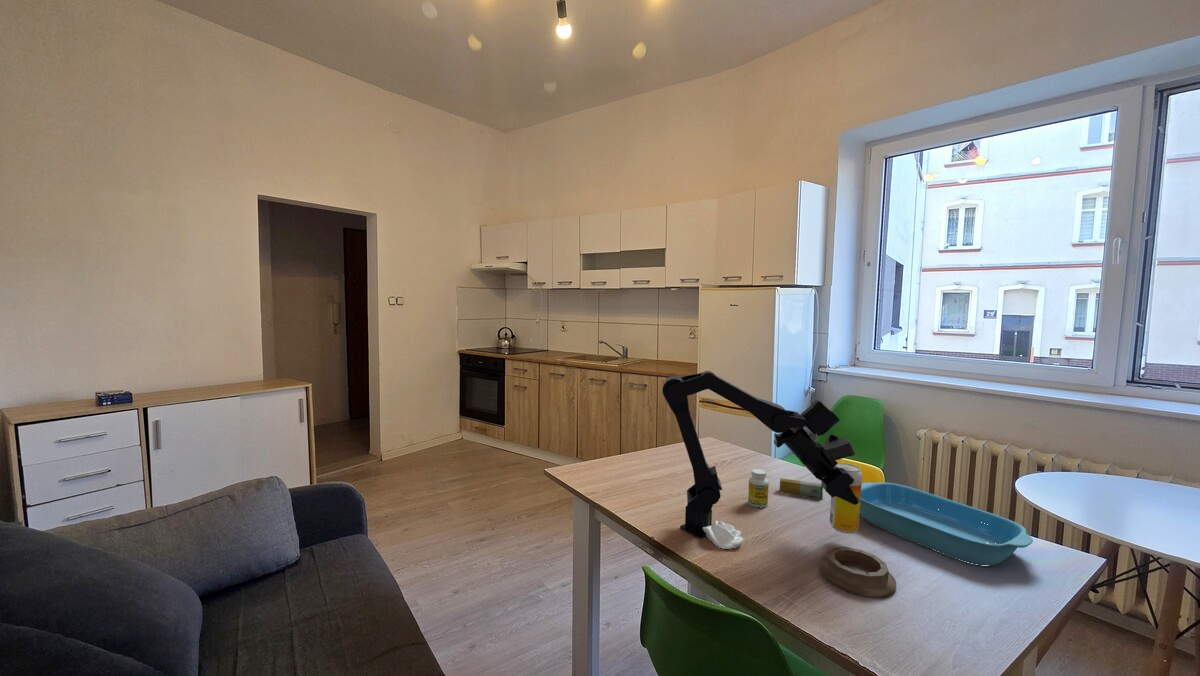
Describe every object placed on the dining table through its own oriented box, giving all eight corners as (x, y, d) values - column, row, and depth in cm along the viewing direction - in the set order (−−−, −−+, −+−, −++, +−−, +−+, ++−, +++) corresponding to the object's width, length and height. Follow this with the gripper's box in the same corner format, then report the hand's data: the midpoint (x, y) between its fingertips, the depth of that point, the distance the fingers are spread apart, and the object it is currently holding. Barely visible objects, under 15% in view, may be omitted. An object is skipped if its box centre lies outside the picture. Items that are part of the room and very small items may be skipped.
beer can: (863, 535, 106) (867, 472, 105) (837, 534, 106) (841, 471, 105) (849, 523, 112) (853, 463, 111) (824, 522, 112) (828, 462, 111)
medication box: (822, 497, 137) (823, 484, 137) (822, 500, 135) (823, 487, 135) (779, 490, 142) (780, 477, 142) (778, 492, 140) (779, 480, 140)
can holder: (878, 607, 86) (880, 589, 86) (806, 572, 97) (807, 556, 97) (907, 581, 95) (908, 564, 94) (837, 552, 106) (838, 537, 105)
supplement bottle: (762, 499, 134) (763, 467, 133) (771, 507, 129) (772, 474, 128) (744, 500, 133) (745, 468, 133) (753, 508, 128) (754, 475, 127)
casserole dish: (1045, 557, 105) (1047, 527, 105) (1008, 587, 94) (1011, 553, 93) (878, 499, 137) (879, 476, 136) (834, 516, 125) (836, 490, 124)
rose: (695, 523, 109) (710, 509, 117) (694, 541, 109) (709, 525, 117) (737, 536, 103) (750, 520, 111) (736, 555, 104) (749, 538, 111)
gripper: (846, 437, 99) (898, 492, 98) (820, 417, 117) (863, 463, 116) (806, 470, 101) (856, 524, 100) (786, 445, 119) (828, 490, 118)
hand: (851, 497), depth 109 cm, fingers closed on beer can, 6 cm apart
